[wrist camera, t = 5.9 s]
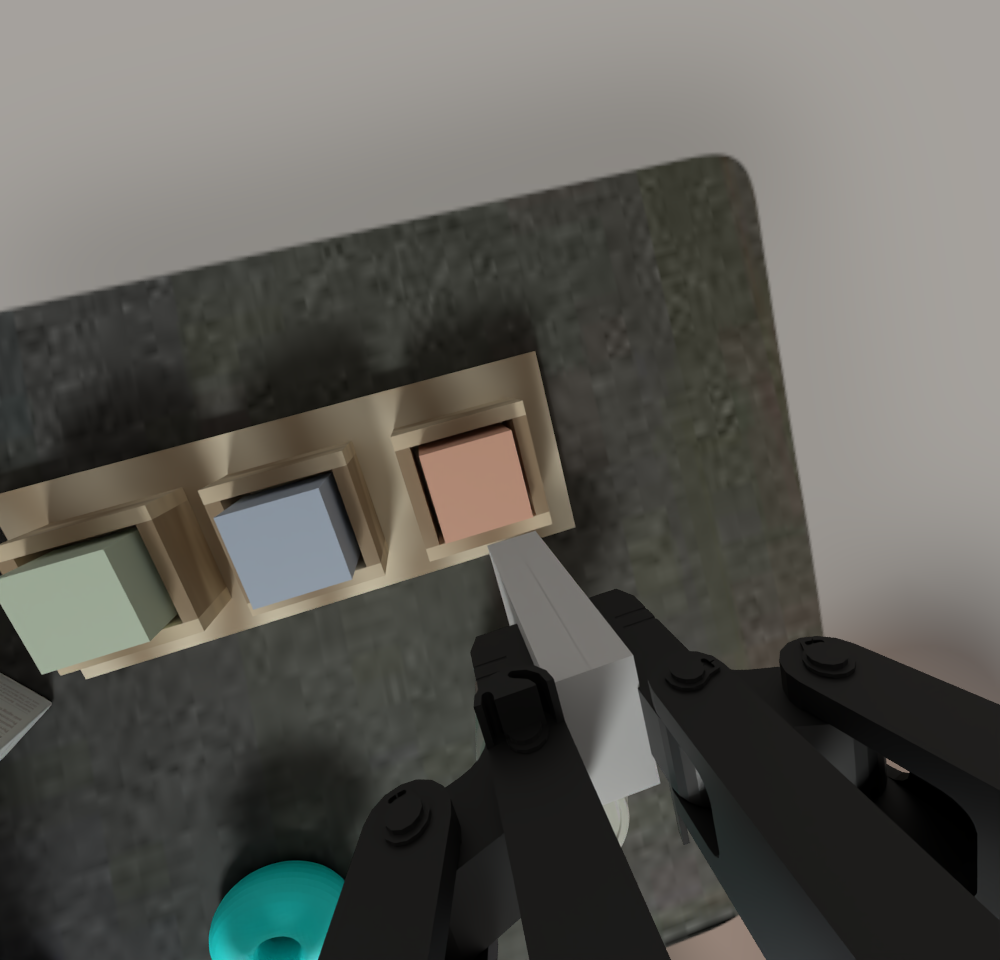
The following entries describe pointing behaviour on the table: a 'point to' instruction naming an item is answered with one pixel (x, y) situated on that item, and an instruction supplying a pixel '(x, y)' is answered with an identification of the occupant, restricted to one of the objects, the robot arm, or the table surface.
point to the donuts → (276, 913)
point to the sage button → (87, 600)
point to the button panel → (288, 459)
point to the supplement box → (17, 712)
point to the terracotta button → (475, 481)
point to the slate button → (290, 540)
